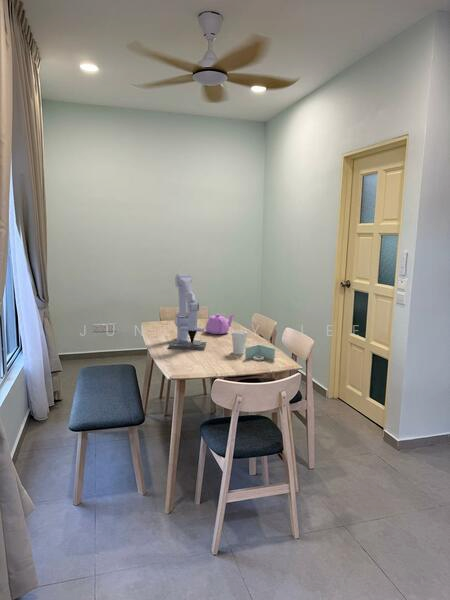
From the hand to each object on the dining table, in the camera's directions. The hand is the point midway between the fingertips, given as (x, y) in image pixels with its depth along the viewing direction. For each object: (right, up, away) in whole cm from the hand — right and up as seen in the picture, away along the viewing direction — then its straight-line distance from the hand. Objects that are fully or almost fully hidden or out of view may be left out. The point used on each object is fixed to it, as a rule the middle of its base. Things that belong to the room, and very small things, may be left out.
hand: (192, 342), depth 258 cm
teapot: (+17, +3, +43) cm, 47 cm away
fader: (+3, -1, 0) cm, 3 cm away
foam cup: (+29, -6, -8) cm, 31 cm away
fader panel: (-3, -3, +1) cm, 4 cm away
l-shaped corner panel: (+41, -8, -21) cm, 47 cm away
